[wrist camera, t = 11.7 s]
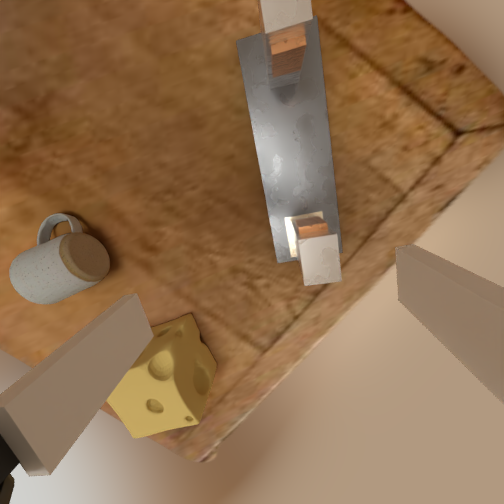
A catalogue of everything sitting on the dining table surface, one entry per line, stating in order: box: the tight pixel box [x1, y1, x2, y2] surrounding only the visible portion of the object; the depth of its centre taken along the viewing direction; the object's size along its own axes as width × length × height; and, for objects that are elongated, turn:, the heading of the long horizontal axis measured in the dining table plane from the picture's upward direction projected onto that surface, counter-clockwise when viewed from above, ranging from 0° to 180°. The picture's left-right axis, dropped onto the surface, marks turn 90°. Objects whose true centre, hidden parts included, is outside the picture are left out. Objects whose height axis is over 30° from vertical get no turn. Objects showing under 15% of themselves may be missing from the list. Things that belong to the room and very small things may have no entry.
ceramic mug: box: [10, 213, 110, 304], centre depth 30 cm, size 11×8×8 cm
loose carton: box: [291, 216, 342, 286], centre depth 24 cm, size 5×3×10 cm, turn 11°
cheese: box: [106, 313, 217, 438], centre depth 33 cm, size 10×11×10 cm
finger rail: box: [236, 0, 343, 263], centre depth 22 cm, size 24×8×12 cm, turn 12°
